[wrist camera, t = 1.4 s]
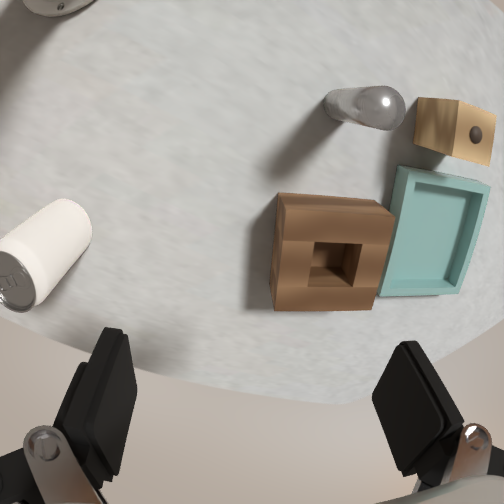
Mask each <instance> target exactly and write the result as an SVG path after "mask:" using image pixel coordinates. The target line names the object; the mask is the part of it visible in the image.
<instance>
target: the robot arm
mask: <svg viewBox="0 0 504 504" xmlns="http://www.w3.org/2000/svg"><path fill="white" fill-rule="evenodd" d="M92 1H93V0H23V3H24V4H25V6H26V7H27V9H29V10H30V11H32V12H33V13H36V14H38V15H41V16H46V17H57V16H61V15H66V14H69V13H71V12H74V11H77V10H78V9H80V8H82V7H84V6H86V5H88V4H89V3H90V2H92ZM136 396H137V384H136V379H135V374H134V368H133V363H132V357H131V352H130V346H129V340H128V335H127V334H123V331H122V330H121V329H115V328H108V327H105V328H104V329H103V331H102V333H101V335H100V338H99V340H98V342H97V344H96V346H95V348H94V350H93V353H92V355H91V357H90V359H89V362H88V363H87V362H81V363H80V364H79V366H78V368H77V370H76V372H75V374H74V377H73V379H72V381H71V383H70V386H69V388H68V390H67V392H66V395H65V397H64V399H63V402H62V404H61V406H60V409H59V411H58V414H57V416H56V419H55V421H54V424H53V426H52V427H51V426H45V425H43V426H38V427H35V428H33V429H31V430H30V431H29V433H27V435H26V437H25V438H24V443H23V448H21V449H18V450H16V451H14V452H11V453H9V454H6V455H4V456H1V457H0V504H109V503H108V502H107V500H106V499H105V497H104V496H103V494H102V492H101V491H100V489H101V488H102V486H103V481H109V482H112V479H113V475H115V476H117V475H118V474H119V470H120V466H121V461H122V456H123V452H124V447H125V442H126V438H127V434H128V430H129V425H130V421H131V417H132V412H133V409H134V405H135V401H136ZM372 401H373V404H374V407H375V409H376V412H377V414H378V417H379V420H380V422H381V425H382V428H383V430H384V433H385V435H386V438H387V441H388V444H389V447H390V449H391V452H392V455H393V458H394V460H395V463H396V466H397V468H398V470H399V471H401V472H402V475H403V477H406V476H410V475H413V474H416V473H417V475H418V480H417V482H416V484H415V487H414V489H413V491H412V494H411V495H407V496H404V497H400V498H396V499H393V500H388V501H384V502H380V503H376V504H504V450H501V449H499V448H497V447H494V446H493V445H492V438H491V435H490V433H489V432H488V430H487V429H486V428H485V427H483V426H481V425H479V424H476V423H470V424H468V425H466V426H465V427H463V425H462V424H463V423H464V419H463V417H462V416H461V414H460V412H459V410H458V408H457V407H456V405H455V403H454V401H453V400H452V398H451V396H450V394H449V393H448V391H447V389H446V387H445V386H444V384H443V382H442V381H441V379H440V377H439V376H438V374H437V372H436V371H435V369H434V367H433V366H432V364H431V362H430V361H429V359H428V357H427V356H426V354H425V353H424V351H423V349H422V348H421V346H420V345H419V343H418V342H417V341H402V342H401V343H400V344H399V345H398V346H396V348H395V350H394V352H393V354H392V356H391V358H390V360H389V362H388V364H387V366H386V368H385V370H384V372H383V374H382V376H381V378H380V380H379V382H378V384H377V386H376V387H375V389H374V391H373V393H372Z"/></svg>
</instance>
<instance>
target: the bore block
mask: <svg viewBox="0 0 504 504" xmlns="http://www.w3.org/2000/svg"><path fill="white" fill-rule="evenodd" d="M394 222H395V216H394V215H392V214H391V213H390V212H389V211H387V210H386V209H385V208H384V207H382V206H381V205H380V204H379V203H377V202H376V201H375V200H368V199H358V198H347V197H335V196H322V195H309V194H294V193H278V201H277V212H276V222H275V233H274V243H273V253H272V263H271V273H270V283H269V284H270V289H271V295H272V300H273V305H274V311H358V310H371V309H372V306H373V303H374V299H375V296H376V293H377V289H378V286H379V282H380V278H381V275H382V271H383V267H384V263H385V260H386V256H387V252H388V248H389V244H390V239H391V235H392V231H393V226H394Z"/></svg>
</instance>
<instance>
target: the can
mask: <svg viewBox="0 0 504 504" xmlns="http://www.w3.org/2000/svg"><path fill="white" fill-rule="evenodd" d="M91 238H92V225H91V222H90V219H89V217H88V215H87V214H86V212H85V211H84V209H83V208H82V207H81V206H80V205H78V204H77V203H76V202H74V201H71V200H68V199H58V200H55V201H53V202H52V203H50V204H49V205H47V206H45V207H44V208H43V209H41V210H40V211H38V212H37V213H35V214H34V215H32V216H31V217H30V218H28V219H27V220H25V221H24V222H23V223H21V224H20V225H19V226H17V227H16V228H15V229H13V230H12V231H11V232H9V233H8V234H7V235H5V236H4V237H3V238H2V239H1V240H0V303H1V304H2V305H4V306H5V307H6V308H8V309H10V310H12V311H14V312H19V313H24V312H27V311H29V310H30V309H32V307H33V306H36V305H38V304H40V303H41V302H43V301H44V300H45V298H46V297H47V296H48V295H49V293H50V292H51V291H52V290H53V288H54V287H55V286H56V285H57V283H58V282H59V281H60V280H61V279H62V277H63V276H64V275H65V274H66V272H67V271H68V270H69V269H70V268H71V266H72V265H73V264H74V263H75V262H76V260H77V259H78V258H79V257H80V256H81V254H82V253H83V252H84V251H85V250H86V248H87V247H88V245H89V244H90V241H91Z"/></svg>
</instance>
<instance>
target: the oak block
mask: <svg viewBox="0 0 504 504" xmlns="http://www.w3.org/2000/svg"><path fill="white" fill-rule="evenodd" d="M495 124H496V115H494V114H492V113H490V112H487V111H485V110H483V109H480V108H478V107H475V106H473V105H470V104H467V103H465V102H462V101H459V100H450V99H439V98H424V97H418V104H417V114H416V123H415V131H414V138H413V144H416V145H419V146H422V147H425V148H428V149H431V150H434V151H437V152H440V153H443V154H446V155H449V156H451V157H455V158H459V159H463V160H467V161H471V162H474V163H478V164H481V165H485V166H488V167H489V165H490V159H491V153H492V146H493V140H494V132H495Z"/></svg>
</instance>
